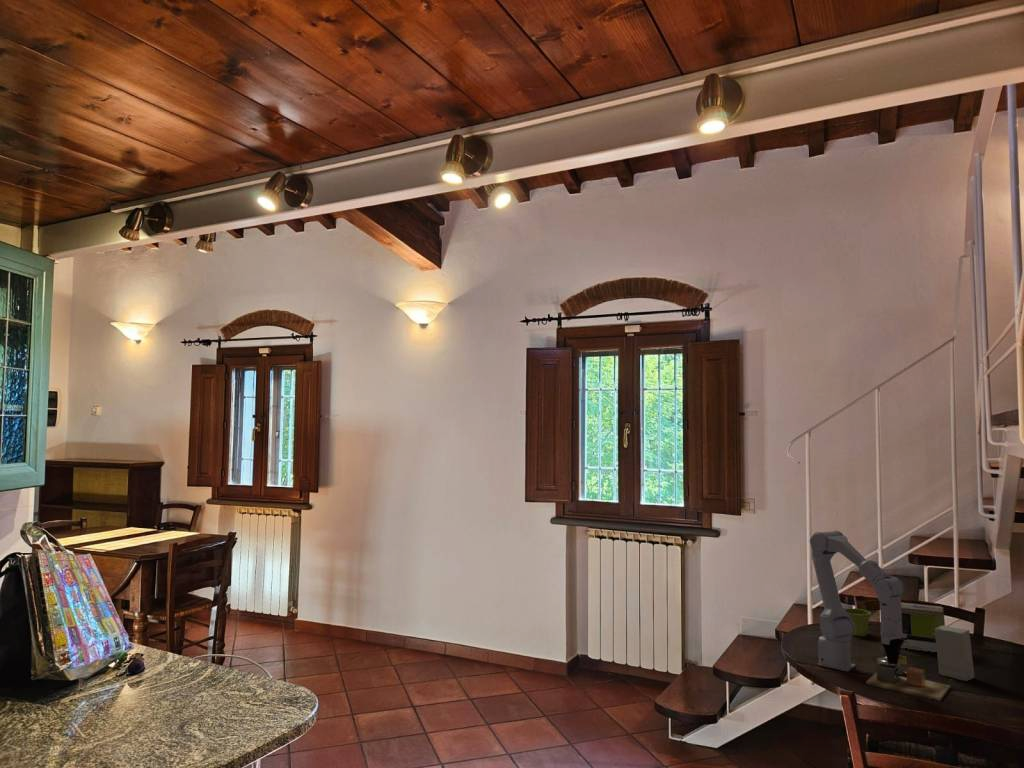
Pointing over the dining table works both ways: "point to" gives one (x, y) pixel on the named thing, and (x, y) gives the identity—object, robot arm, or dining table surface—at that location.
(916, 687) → the oak board
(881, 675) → the eye block
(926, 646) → the tea box
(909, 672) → the brown blocky piece
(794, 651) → the dining table surface
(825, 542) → the robot arm
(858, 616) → the plant pot
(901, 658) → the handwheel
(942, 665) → the skincare box
